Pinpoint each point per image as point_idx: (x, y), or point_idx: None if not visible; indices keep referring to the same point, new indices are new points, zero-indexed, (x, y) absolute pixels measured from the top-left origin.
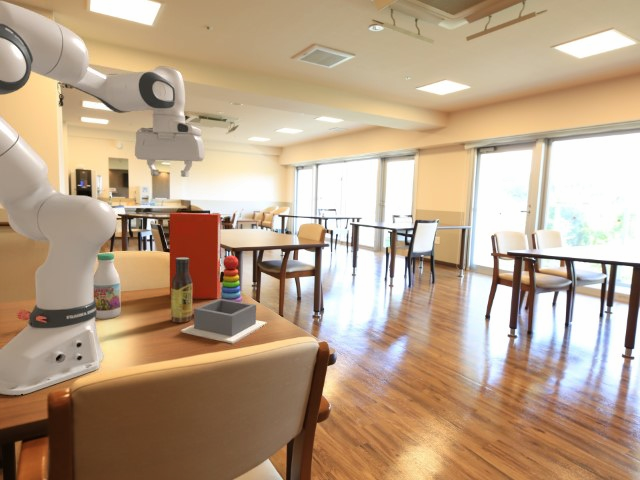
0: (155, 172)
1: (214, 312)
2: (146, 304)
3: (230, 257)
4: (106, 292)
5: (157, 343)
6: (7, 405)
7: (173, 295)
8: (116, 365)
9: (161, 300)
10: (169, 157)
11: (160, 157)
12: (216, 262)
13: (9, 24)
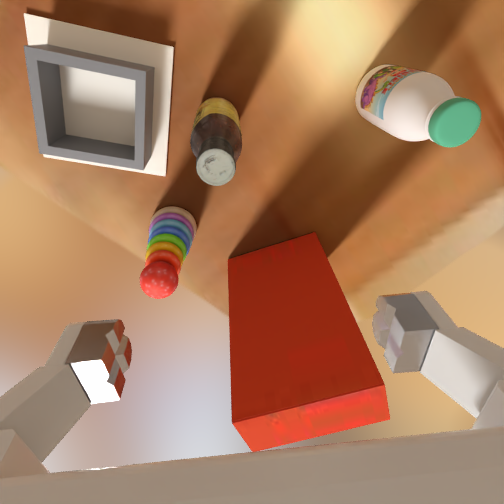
0: (393, 316)
1: (82, 59)
2: (340, 186)
3: (151, 281)
4: (393, 78)
5: None
6: None
7: (224, 110)
8: None
9: (325, 217)
10: (207, 488)
11: (380, 465)
12: (231, 310)
13: None
